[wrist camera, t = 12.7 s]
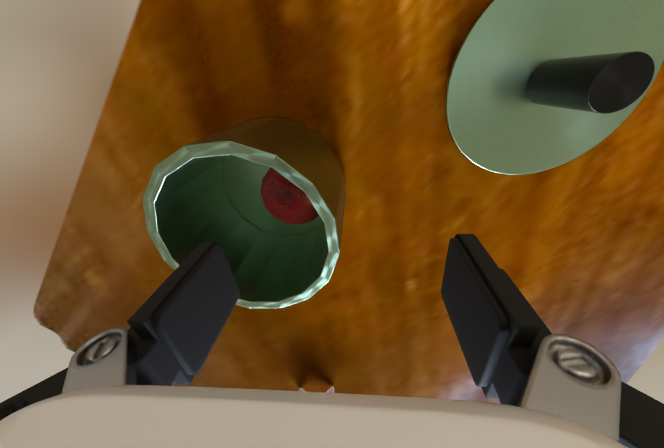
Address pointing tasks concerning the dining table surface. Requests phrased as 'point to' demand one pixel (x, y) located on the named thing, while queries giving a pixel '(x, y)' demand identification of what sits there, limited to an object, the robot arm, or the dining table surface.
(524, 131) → the lid
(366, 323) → the dining table surface
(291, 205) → the onion
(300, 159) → the pot
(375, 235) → the dining table surface
